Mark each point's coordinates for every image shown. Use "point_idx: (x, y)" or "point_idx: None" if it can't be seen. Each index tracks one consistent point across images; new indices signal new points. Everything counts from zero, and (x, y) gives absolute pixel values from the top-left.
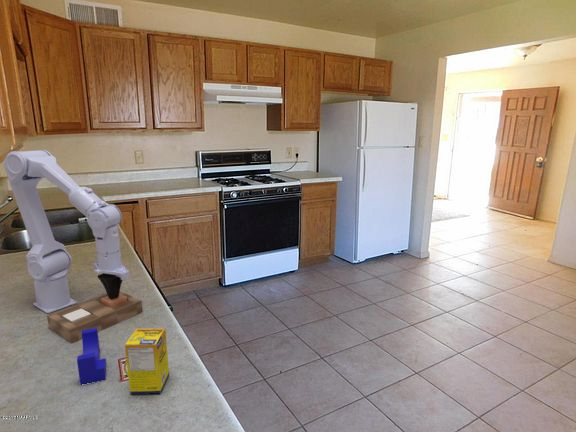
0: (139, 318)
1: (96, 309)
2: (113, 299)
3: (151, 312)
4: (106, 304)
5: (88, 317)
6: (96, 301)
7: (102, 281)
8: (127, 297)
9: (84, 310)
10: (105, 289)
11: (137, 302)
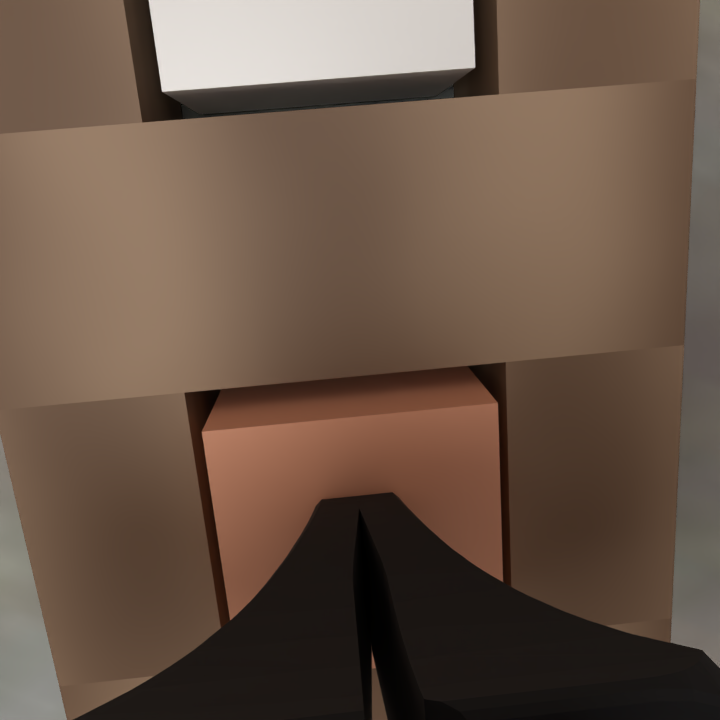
0: (9, 560)
1: (271, 225)
2: (300, 520)
3: (55, 697)
4: (327, 401)
5: (67, 5)
6: (548, 344)
7: (476, 641)
8: None
9: (362, 66)
10: (444, 548)
11: (63, 703)
